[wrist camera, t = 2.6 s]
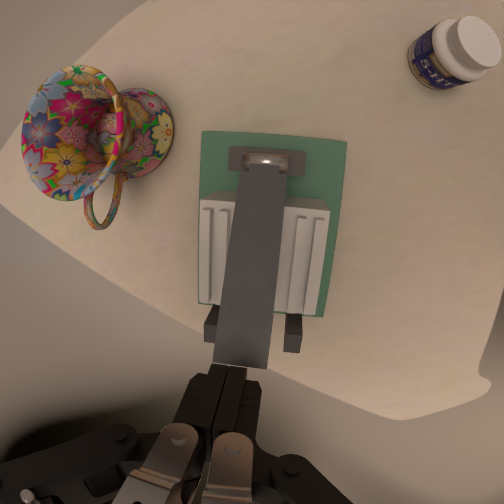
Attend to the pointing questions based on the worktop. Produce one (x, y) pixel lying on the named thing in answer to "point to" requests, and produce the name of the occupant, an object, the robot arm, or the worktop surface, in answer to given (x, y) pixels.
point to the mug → (92, 136)
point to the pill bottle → (454, 53)
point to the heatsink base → (309, 185)
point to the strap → (252, 263)
